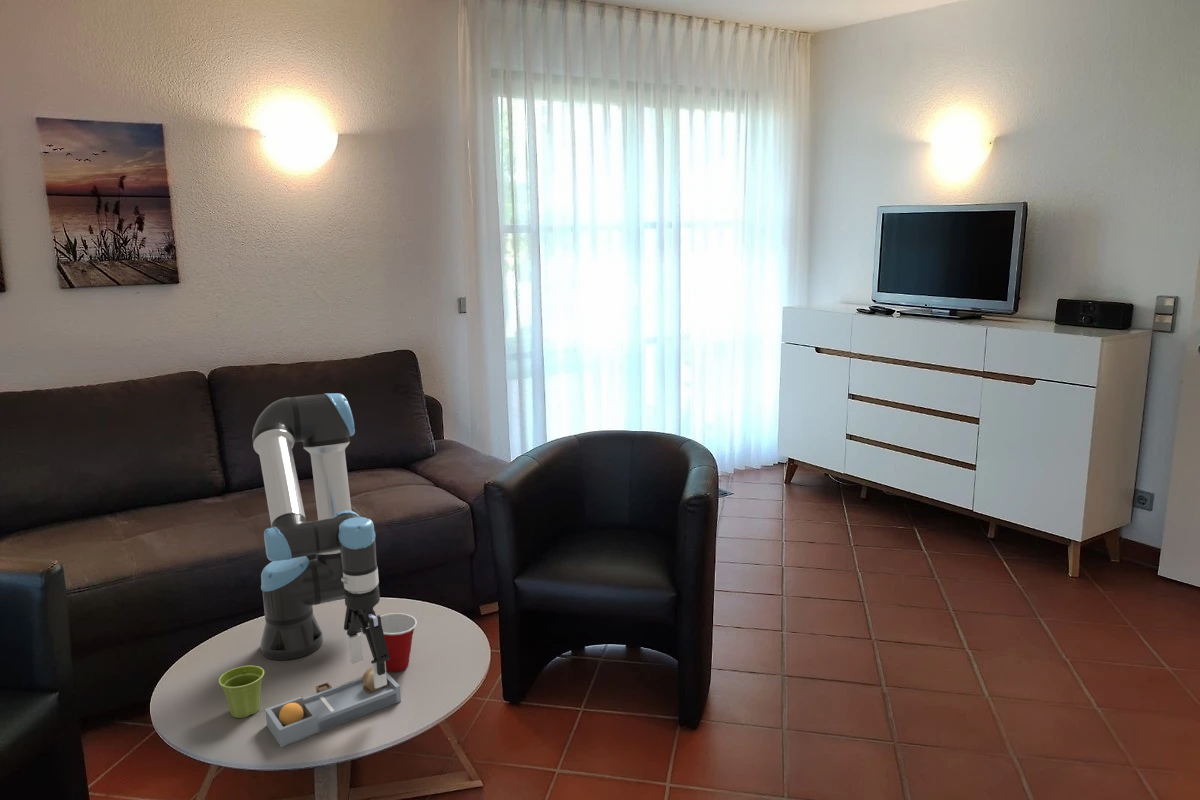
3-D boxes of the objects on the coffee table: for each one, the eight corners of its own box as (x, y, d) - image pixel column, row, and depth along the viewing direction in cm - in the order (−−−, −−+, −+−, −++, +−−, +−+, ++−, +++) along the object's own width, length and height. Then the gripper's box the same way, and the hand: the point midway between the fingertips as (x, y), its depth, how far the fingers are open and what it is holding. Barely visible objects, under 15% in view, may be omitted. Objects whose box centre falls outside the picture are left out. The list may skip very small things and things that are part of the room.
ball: (295, 718, 185) (273, 721, 182) (300, 697, 185) (278, 700, 181) (304, 729, 182) (282, 733, 178) (309, 708, 181) (287, 711, 178)
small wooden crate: (316, 696, 194) (315, 686, 193) (328, 692, 195) (327, 682, 195) (321, 701, 191) (320, 691, 191) (333, 697, 193) (332, 687, 192)
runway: (266, 725, 183) (264, 709, 182) (383, 682, 199) (381, 667, 198) (281, 747, 175) (279, 730, 174) (401, 701, 191) (399, 685, 190)
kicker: (363, 688, 192) (361, 671, 191) (381, 682, 194) (379, 665, 193) (368, 694, 189) (366, 676, 189) (386, 687, 192) (385, 670, 191)
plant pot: (234, 698, 193) (230, 664, 191) (274, 699, 193) (271, 665, 191) (215, 722, 184) (210, 687, 182) (257, 723, 184) (253, 687, 182)
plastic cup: (417, 676, 202) (414, 630, 199) (372, 679, 200) (368, 633, 198) (421, 653, 212) (419, 610, 210) (378, 656, 211) (375, 612, 208)
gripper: (324, 573, 193) (332, 657, 198) (367, 611, 174) (375, 703, 178) (355, 565, 198) (362, 646, 202) (401, 601, 178) (407, 690, 183)
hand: (368, 673), depth 190 cm, fingers open, 13 cm apart
